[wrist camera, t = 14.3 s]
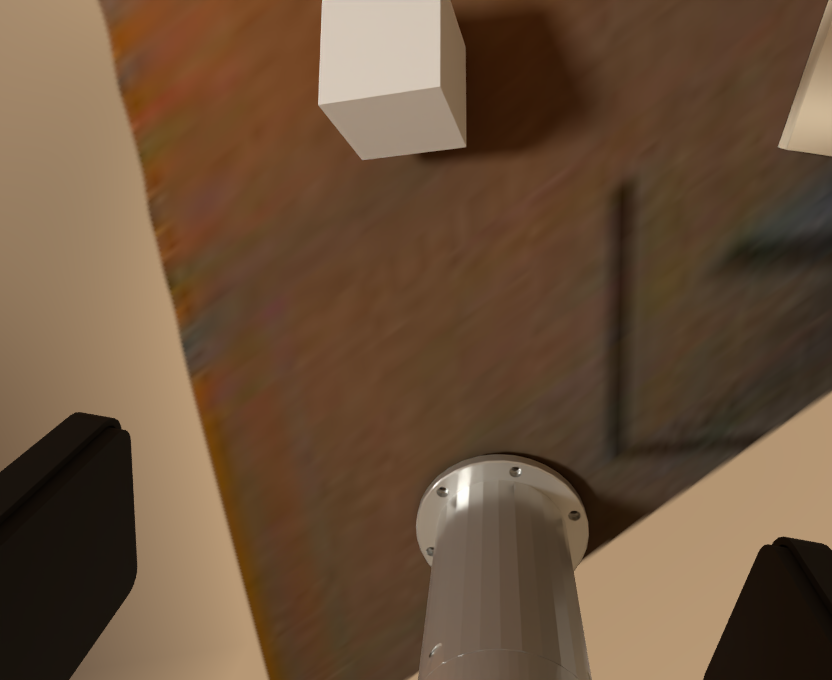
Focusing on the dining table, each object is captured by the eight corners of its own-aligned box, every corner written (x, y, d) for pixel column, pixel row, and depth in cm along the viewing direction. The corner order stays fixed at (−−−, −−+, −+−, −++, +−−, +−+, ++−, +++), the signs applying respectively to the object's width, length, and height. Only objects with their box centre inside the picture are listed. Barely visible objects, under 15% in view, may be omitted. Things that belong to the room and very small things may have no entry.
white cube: (362, 160, 36) (317, 105, 30) (364, 64, 37) (321, -7, 32) (467, 147, 34) (440, 86, 29) (466, 46, 36) (440, -32, 30)
